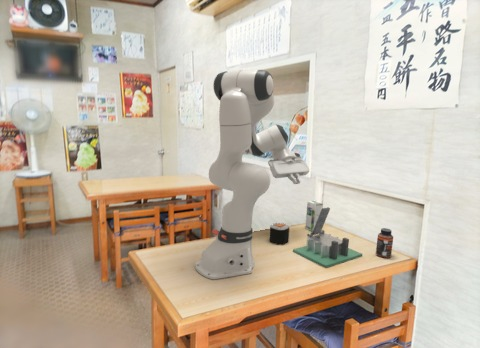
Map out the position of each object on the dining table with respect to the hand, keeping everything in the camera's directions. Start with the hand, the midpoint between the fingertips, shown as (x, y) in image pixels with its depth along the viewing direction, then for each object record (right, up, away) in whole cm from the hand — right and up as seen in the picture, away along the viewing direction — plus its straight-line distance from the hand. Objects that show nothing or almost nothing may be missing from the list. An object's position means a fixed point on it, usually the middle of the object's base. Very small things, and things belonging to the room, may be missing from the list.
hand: (297, 183), depth 154 cm
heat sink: (+10, -28, -11) cm, 31 cm away
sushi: (-8, -26, +1) cm, 28 cm away
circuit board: (+10, -29, -12) cm, 33 cm away
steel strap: (+8, -16, -11) cm, 21 cm away
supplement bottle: (+34, -30, -11) cm, 47 cm away
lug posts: (+14, -30, -17) cm, 37 cm away
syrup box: (+11, -24, +18) cm, 32 cm away
